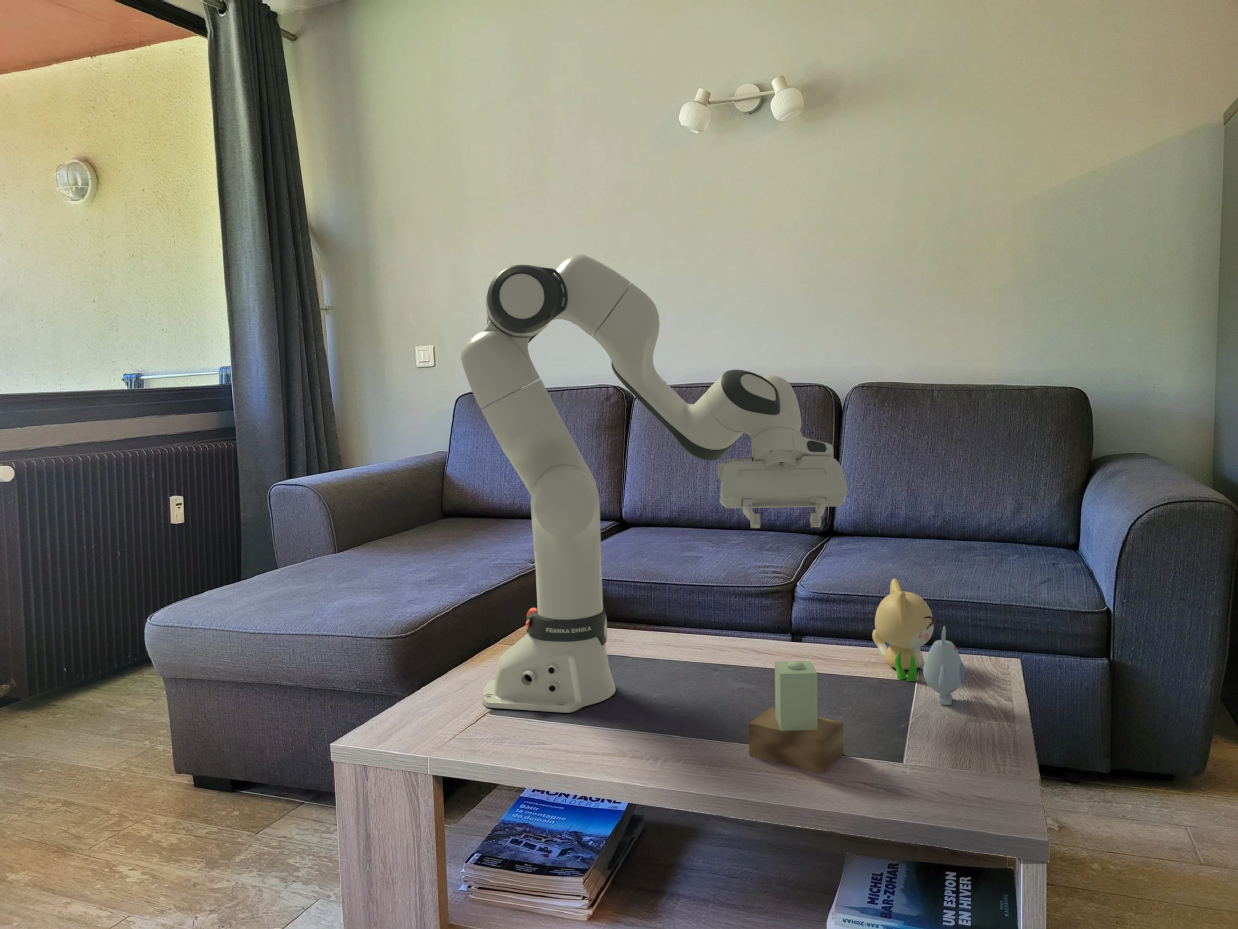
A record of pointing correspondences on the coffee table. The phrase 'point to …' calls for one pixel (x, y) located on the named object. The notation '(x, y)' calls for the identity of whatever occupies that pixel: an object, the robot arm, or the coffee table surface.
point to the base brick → (796, 743)
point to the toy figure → (944, 669)
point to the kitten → (903, 630)
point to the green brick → (796, 696)
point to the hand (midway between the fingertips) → (785, 525)
